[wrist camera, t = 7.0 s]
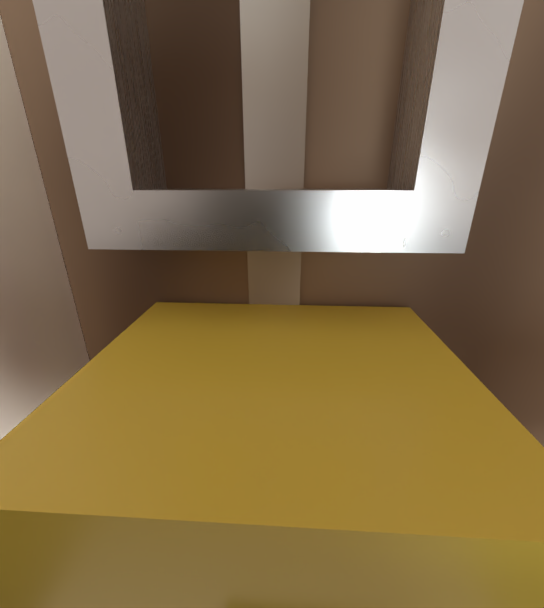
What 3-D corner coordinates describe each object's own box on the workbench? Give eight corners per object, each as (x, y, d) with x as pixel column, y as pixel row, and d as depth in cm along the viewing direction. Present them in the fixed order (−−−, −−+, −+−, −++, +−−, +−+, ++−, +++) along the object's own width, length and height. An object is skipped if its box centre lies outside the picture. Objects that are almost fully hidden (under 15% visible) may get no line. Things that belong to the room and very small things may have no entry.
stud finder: (409, 307, 7) (663, 571, 2) (373, 512, 10) (454, 836, 5) (156, 302, 7) (-95, 522, 3) (186, 501, 10) (90, 795, 5)
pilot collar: (519, -255, 4) (638, -482, 3) (427, 238, 7) (464, 253, 5) (51, -220, 4) (-59, -404, 3) (129, 236, 7) (88, 248, 5)
